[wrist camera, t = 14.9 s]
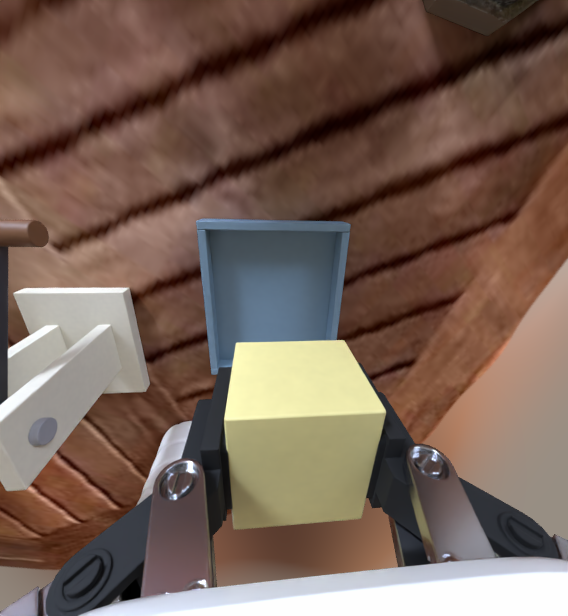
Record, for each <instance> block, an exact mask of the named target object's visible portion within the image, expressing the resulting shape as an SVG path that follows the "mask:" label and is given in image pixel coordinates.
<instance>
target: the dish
mask: <svg viewBox="0 0 568 616" xmlns="http://www.w3.org/2000/svg"><path fill="white" fill-rule="evenodd" d="M196 225H197V229H198V230H197V235H198V245H199V255H200V265H201V275H202V285H203V295H204V305H205V315H206V325H207V335H208V345H209V355H210V365H211V374H212V375H217V374H218V370H219V367H232V364H233V358H234V352H235V345H236V343H240V342H283V341H327V340H337V331H338V323H339V315H340V307H341V299H342V291H343V283H344V275H345V267H346V258H347V250H348V242H349V234H350V233H349V232H350V226H351V225H350V224H348V223H345V222H340V221H293V220H246V219H200V220H198V221H196Z"/></svg>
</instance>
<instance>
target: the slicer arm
mask: <svg viewBox="0 0 568 616" xmlns="http://www.w3.org/2000/svg"><path fill="white" fill-rule="evenodd" d="M48 239H49V236H48V231H47V229H46V227H45V226H44V225H43V224H42V223H41V222H39V221H36V220H0V405H1V404H2V403H3V402H4V401H6V400H7V399H8V247H43V246H45V245H46V244H47V243H48Z"/></svg>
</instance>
